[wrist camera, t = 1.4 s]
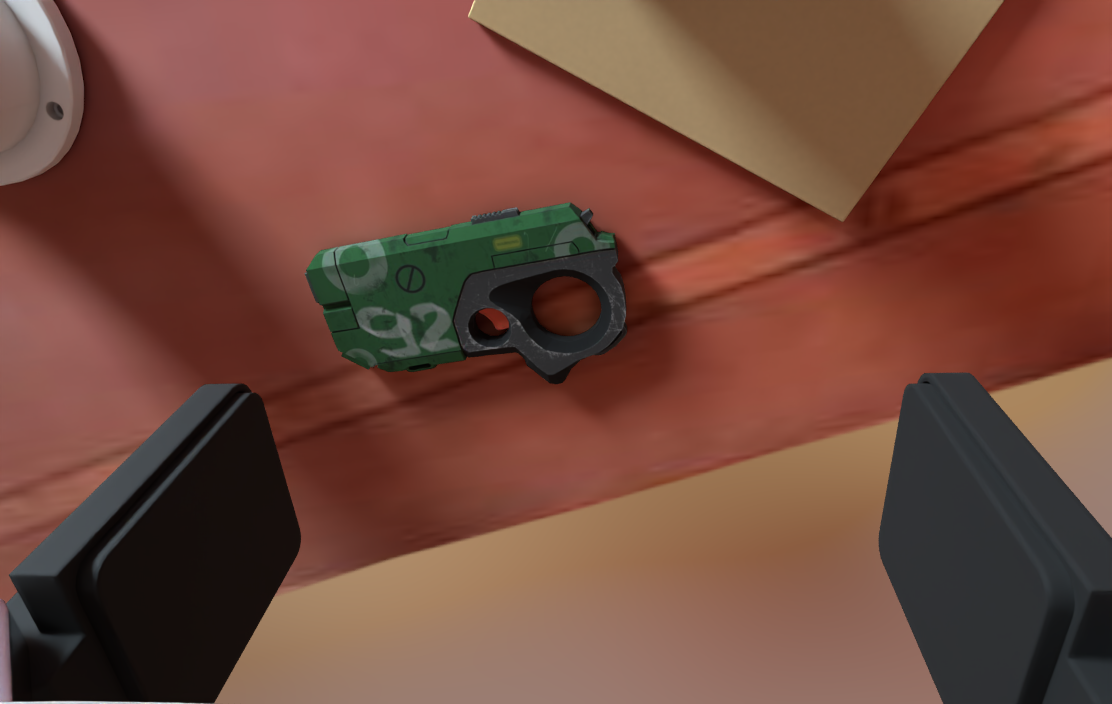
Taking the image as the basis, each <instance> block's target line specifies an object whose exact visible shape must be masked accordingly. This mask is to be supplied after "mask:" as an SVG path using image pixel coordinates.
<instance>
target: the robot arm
mask: <svg viewBox="0 0 1112 704" xmlns="http://www.w3.org/2000/svg"><path fill="white" fill-rule="evenodd" d="M83 111H84V83H83V77H82V71H81V65H80V59H79V56H78V53H77V50H76V47H75V44H74V41H73V38H72V35H71V33H70V31H69V29H68V27H67V25H66V23H65V21H64V19H63V17H62V15H61V13H60V11H59V9H58V7H57V5H56V4H55V2H54V1H53V0H0V186H3V185H7V184H12V183H17V182H22V181H25V180H27V179H30V178H33V177H35V176H38V175H41V174H43V173H44V172H46V171H47V170H49V169H50V168H52V167H53V166H55V165H56V164H58V162H59V161H60V160H61V159H62V158H63V157H64V156H65V154H66V153H67V152H68V151H69V150H70V148H71V146H72V144H73V142H74V140H75V138H76V136H77V134H78V132H79V128H80V124H81V120H82V115H83ZM300 543H301V533H300V528H299V524H298V521H297V517H296V514H295V510H294V507H293V504H292V500H291V497H290V493H289V490H288V486H287V483H286V479H285V476H284V472H283V469H282V466H281V462H280V459H279V455H278V452H277V448H276V445H275V441H274V438H273V434H272V431H271V428H270V424H269V421H268V417H267V414H266V410H265V407H264V403H263V401H262V398H261V397H260V396H259V394H257V393H252V392H251V390H250V389H249V387H248V386H247V385H245V384H205V385H203V386H202V387H200V388H199V389H198V390H197V391H196V392H195V393H194V394H193V395H192V396H191V397H190V398H189V399H188V400H187V401H186V402H185V403H184V404H183V405H182V406H181V407H180V408H179V409H178V410H177V411H176V412H174V413H173V414H172V415H171V416H170V417H169V418H168V419H167V420H166V421H165V422H164V423H163V424H162V425H161V426H160V427H159V428H158V429H157V430H156V431H155V432H154V433H153V434H152V435H151V436H150V437H149V438H148V439H147V440H146V441H145V442H144V443H143V444H142V445H141V446H140V447H139V448H138V449H137V450H136V451H135V452H134V453H133V454H132V455H131V456H130V457H129V458H128V459H127V460H126V461H125V462H124V463H122V464H121V465H120V466H119V467H118V468H117V469H116V470H115V471H114V472H113V473H112V474H111V475H110V476H109V477H108V478H107V479H106V480H105V481H104V482H103V483H102V484H101V485H100V486H99V487H98V488H97V489H96V490H95V491H94V492H93V493H92V494H91V495H90V496H89V497H88V498H87V499H86V500H85V501H84V502H83V503H82V504H81V505H80V506H79V507H78V508H77V509H76V510H75V511H74V512H73V513H72V514H71V515H69V516H68V517H67V518H66V519H65V520H64V521H63V522H62V523H61V524H60V525H59V526H58V527H57V528H56V529H55V530H54V531H53V532H52V533H51V534H50V535H49V536H48V537H47V538H46V539H45V540H44V541H43V542H42V543H41V544H40V545H39V546H38V547H37V548H36V549H35V550H34V551H33V552H32V553H31V554H30V555H29V556H28V557H27V558H26V559H25V560H24V561H23V562H22V563H21V564H20V565H19V566H18V567H16V568H15V569H14V570H13V571H12V572H11V573H10V574H9V576H10V578H11V580H12V582H13V584H14V586H15V587H16V589H17V591H18V592H17V593H16V594H15V595H14V596H13V597H12V598H11V599H10V600H9V601H8V602H7V603H5V601H4V600H2V599H0V704H214V702H215V700H216V699H217V697H218V695H219V693H220V691H221V690H222V688H223V686H224V684H225V682H226V681H227V679H228V677H229V675H230V674H231V672H232V670H233V668H234V667H235V665H236V663H237V661H238V660H239V658H240V656H241V654H242V652H243V651H244V649H245V647H246V645H247V644H248V642H249V640H250V638H251V636H252V635H253V633H254V631H255V629H256V628H257V626H258V624H259V622H260V620H261V619H262V617H263V615H264V613H265V612H266V610H267V608H268V606H269V604H270V603H271V601H272V599H273V597H274V596H275V594H276V592H277V590H278V588H279V587H280V585H281V583H282V581H283V580H284V578H285V576H286V574H287V572H288V571H289V569H290V567H291V565H292V564H293V562H294V560H295V558H296V556H297V554H298V552H299V548H300ZM879 551H880V556H881V559H882V562H883V565H884V567H885V569H886V571H887V574H888V576H889V579H890V581H891V583H892V586H893V588H894V590H895V593H896V595H897V597H898V599H899V602H900V604H901V606H902V609H903V611H904V613H905V616H906V618H907V620H908V623H909V625H910V627H911V630H912V632H913V634H914V637H915V639H916V641H917V643H918V646H919V648H920V650H921V653H922V655H923V658H924V660H925V662H926V665H927V667H928V669H929V672H930V674H931V676H932V679H933V681H934V683H935V685H936V688H937V690H938V692H939V695H940V697H941V699H942V702H943V704H1112V538H1111V537H1110V536H1109V535H1108V533H1107V532H1106V531H1105V530H1104V529H1103V528H1102V526H1101V525H1100V524H1099V523H1098V522H1097V520H1096V519H1095V518H1094V517H1093V516H1092V515H1091V513H1090V512H1089V511H1088V510H1087V509H1086V508H1085V506H1084V505H1083V504H1082V503H1081V502H1080V500H1079V499H1078V498H1077V497H1076V496H1075V495H1074V493H1073V492H1072V491H1071V490H1070V489H1069V488H1068V487H1067V485H1066V484H1065V483H1064V482H1063V481H1062V479H1061V478H1060V477H1059V476H1058V475H1057V473H1056V472H1055V471H1054V470H1053V469H1052V468H1051V466H1050V465H1049V464H1048V463H1047V462H1046V461H1045V460H1044V458H1043V457H1042V456H1041V455H1040V453H1039V452H1038V451H1037V450H1036V449H1035V448H1034V446H1033V445H1032V444H1031V443H1030V442H1029V441H1028V439H1027V438H1026V437H1025V436H1024V435H1023V433H1022V432H1021V431H1020V430H1019V429H1018V428H1017V426H1016V425H1015V424H1014V423H1013V422H1012V421H1011V420H1010V418H1009V417H1008V416H1007V415H1006V414H1005V412H1004V411H1003V410H1002V409H1001V408H1000V406H999V405H998V404H997V403H996V402H995V401H994V399H993V398H992V397H991V396H990V395H989V393H988V392H987V391H986V390H985V389H984V388H983V386H982V385H981V384H980V383H979V382H978V381H977V379H976V378H975V377H974V376H973V375H972V374H970V373H924V374H923V375H921V377H920V379H919V380H918V383H917V384H908V385H907V386H906V388H905V390H904V394H903V400H902V405H901V411H900V417H899V422H898V429H897V434H896V440H895V446H894V451H893V457H892V462H891V468H890V474H889V480H888V485H887V491H886V497H885V502H884V508H883V514H882V520H881V526H880V531H879Z"/></svg>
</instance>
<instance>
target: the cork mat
mask: <svg viewBox="0 0 1112 704" xmlns="http://www.w3.org/2000/svg"><path fill="white" fill-rule="evenodd" d="M1003 2H1004V0H475V1H474V3H473V6H472V8H471V11H470V13H469V16H468V17H469V18H470V19H472V20H474V21H476V22H477V23H479V24H481V25H483V26H485V27H487V28H488V29H490V30H492V31H494V32H496V33H498V34H499V35H501V36H503V37H505V38H507V39H508V40H510V41H512V42H514V43H516V44H518V45H519V46H521V47H523V48H525V49H527V50H529V51H530V52H532V53H534V54H536V55H538V56H540V57H541V58H543V59H545V60H547V61H549V62H551V63H552V64H554V65H556V66H558V67H560V68H561V69H563V70H565V71H567V72H569V73H571V74H572V75H574V76H576V77H578V78H580V79H582V80H583V81H585V82H587V83H589V84H591V85H593V86H594V87H596V88H598V89H600V90H602V91H604V92H605V93H607V94H609V95H611V96H613V97H614V98H616V99H618V100H620V101H622V102H624V103H625V104H627V105H629V106H631V107H633V108H635V109H636V110H638V111H640V112H642V113H644V114H646V115H647V116H649V117H651V118H653V119H655V120H657V121H658V122H660V123H662V124H664V125H666V126H667V127H669V128H671V129H673V130H675V131H677V132H678V133H680V134H682V135H684V136H686V137H688V138H689V139H691V140H693V141H695V142H697V143H699V144H700V145H702V146H704V147H706V148H708V149H710V150H711V151H713V152H715V153H717V154H719V155H721V156H722V157H724V158H726V159H728V160H730V161H731V162H733V163H735V164H737V165H739V166H741V167H742V168H744V169H746V170H748V171H750V172H752V173H753V174H755V175H757V176H759V177H761V178H763V179H764V180H766V181H768V182H770V183H772V184H774V185H775V186H777V187H779V188H781V189H783V190H784V191H786V192H788V193H790V194H792V195H794V196H795V197H797V198H799V199H801V200H803V201H805V202H806V203H808V204H810V205H812V206H814V207H816V208H817V209H819V210H821V211H823V212H825V213H827V214H828V215H830V216H832V217H834V218H836V219H837V220H839V221H841V222H843V221H844V220H845V219H846V217H847V216H848V215H849V213H850V212H851V210H852V209H853V208H854V206H855V205H856V204H857V202H858V201H859V199H860V198H861V197H862V195H863V194H864V193H865V191H866V190H867V188H868V187H869V186H870V184H871V183H872V182H873V180H874V179H875V177H876V176H877V175H878V173H879V172H880V171H881V169H882V168H883V167H884V165H885V164H886V162H887V161H888V160H889V158H890V157H891V156H892V154H893V153H894V151H895V150H896V149H897V147H898V146H899V145H900V143H901V142H902V140H903V139H904V138H905V136H906V135H907V134H908V132H909V131H910V129H911V128H912V127H913V125H914V124H915V123H916V121H917V120H918V118H919V117H920V116H921V114H922V113H923V112H924V110H925V109H926V107H927V106H928V105H929V103H930V102H931V101H932V99H933V98H934V96H935V95H936V94H937V92H938V91H939V90H940V88H941V87H942V85H943V84H944V83H945V81H946V80H947V79H948V77H949V76H950V75H951V73H952V72H953V70H954V69H955V68H956V66H957V65H958V64H959V62H960V61H961V59H962V58H963V57H964V55H965V54H966V53H967V51H968V50H969V48H970V47H971V46H972V44H973V43H974V42H975V40H976V39H977V37H978V36H979V35H980V33H981V32H982V31H983V29H984V28H985V26H986V25H987V24H988V22H989V21H990V20H991V18H992V17H993V15H994V14H995V13H996V11H997V10H998V9H999V7H1000V6H1001V4H1002V3H1003Z"/></svg>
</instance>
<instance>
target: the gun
mask: <svg viewBox="0 0 1112 704" xmlns="http://www.w3.org/2000/svg"><path fill="white" fill-rule="evenodd" d="M592 216H593V213H592V211H591V210H590V208H589V209H587V210H585V211H584V212H582V211H581V210H580V209H579V208H577V207H576V206H575V205H573V204H572V203H565V204H559V205H554V206H549V207H544V208H539V209H534V210H528V211H523V212H519V210H518V209H517V208H511V209H506V210H502V212H501V211H498V212H497V213H496V212H493V213H492V214H491V213H488V214H483V215H481V214H480V215H478V216H476V215H475V216H472V218H471V222H466V223H461V224H456V225H452V226H451V227H445V228H440V229H435V230H430V231H424V232H419V233H414V234H409V235H407V234H404V235H398V236H393V237H388V238H383V239H378V240H372V241H367V242H362V243H357V244H352V245H346V246H341V247H339V248H338V247H336V248H331V249H326V250H321V251H320V252H319V253H318V254H316V256H315V257H314V259H313V260H312V262H311V264H310V265H309V267H308V268H307V270H306V271H307V272H306V273H305V276H306V278H307V281H308V283H309V286H310V288H311V291H312V293H313V296H314V298H315V301H316V302H317V303H319V304H320V305H322V306H323V308H324V312H323V314H324V317H325V319H326V322H327V324H328V327H329V329H330V332H332V333H331V334H332V337H333V339H334V342H335V345H336V347H337V349H338V351H340V352H342V357H344V358H346V359H348V360H350V361H352V362H354V363H356V364H358V365H360V366H362V367H364V368H366V369H368V370H369V368H370V367H373V366H374V367H375V365H378V367H377V368H379V369H382V370H385V371H387V372H395V371H403V370H407V371H408V372H415V371H421V370H427V369H432V368H435V367H436V366H437V364H444V363H450V362H456V361H463V360H466V357H478V356H485V355H494V354H505V353H514V352H516V353H519V354H520V355H521V356H522V357H523V358H524V359H525V362H526V364H527V366H528V367H530V368H531V369H533V370H534V371H535V372H536V373H538V374H539V375H540V376H541V377H542V378H544V379H545V380H546V381H548V382H549V383H552V384H560V383H563V381H564V380H565V379H566V377H567V376H568V374H569V372H570V370H571V368H573V367H574V366H575V365H576V364H577V363H578V362H579V361H580V360H582V359H584V358H586V357H588V356H591V355H602V354H605V353H606V352H608V351H609V350H611V349H612V348H614V347H615V346H616V345H617V344H618V343H619V342H620V341H621V340H622V339H623V338H624V337H625V335H626V333H627V325H626V323H625V322H624V321H625V317H626V296H625V288H624V283H623V280H622V277H621V274H620V273H619V272H618V270H617V269H616V267H615V265H616V263H617V262H618V248H617V243H616V240H615V233H607V232H604V231H601V232H597V231H596V230H595V228H594V227H593V226H592V224H591V223H590V219H591V218H592ZM561 276H568V277H574V278H578V279H580V280H582V281H584V282H586V283H587V284H589V285H590V286H591V287H592V288H593V289H594V290H595V291H596V293H597V295H598V297H599V299H600V302H601V309H602V310H601V314H600V317H599V319H598V320H597V322H596V324H595V325H594V326H593V327H592V328H590V329H589V330H588V331H586V332H584V333H582V334H579V335H575V336H560V335H557V334H554V333H552V332H550V331H548V330H547V329H546V328H544V327H543V326H542V325H541V324H540V323H539V322H538V320H537V318H536V317H535V315H534V312H533V308H532V297H533V295H534V293H535V291H536V290H537V289H538V287H539V286H540V285H542V284H543V283H544V282H546V281H548V280H550V279H552V278H555V277H561ZM478 312H479V313H481V314H483V315H485V316H486V317H487V318H488V319H489V320H491V321H492V322H493V324H494V326H495V328H496V329H497V330H503V329H506V328H509V329H508V330H507V331H506V332H505V333H504V334H501V335H499V336H490V335H488V334H485V333H483V332H482V331H481V330H480V329H479V328H478V326H477V324H476V321H475V315H476V314H477V313H478ZM374 367H373V368H374Z"/></svg>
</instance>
